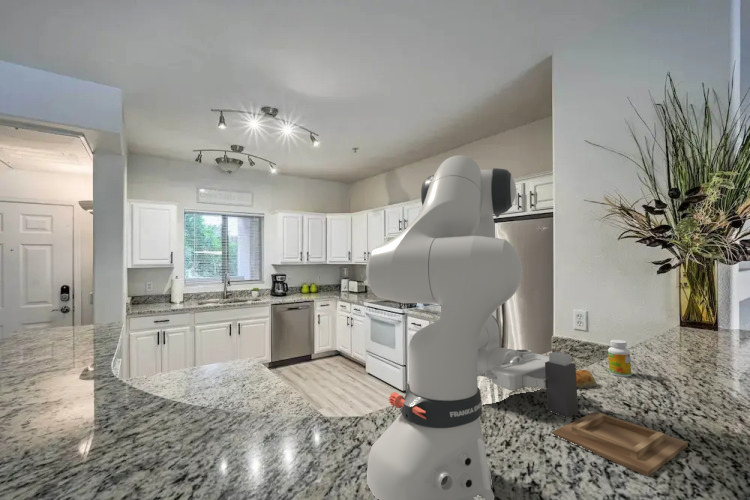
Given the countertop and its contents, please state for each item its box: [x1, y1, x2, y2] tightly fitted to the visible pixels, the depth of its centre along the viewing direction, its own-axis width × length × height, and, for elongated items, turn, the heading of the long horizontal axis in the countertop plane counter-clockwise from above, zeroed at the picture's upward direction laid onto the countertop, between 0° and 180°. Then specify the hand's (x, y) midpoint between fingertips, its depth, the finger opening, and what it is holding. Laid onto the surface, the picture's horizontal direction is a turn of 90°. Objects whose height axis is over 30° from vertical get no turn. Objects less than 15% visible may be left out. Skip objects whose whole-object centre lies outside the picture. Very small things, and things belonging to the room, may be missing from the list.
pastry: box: [576, 369, 597, 389], centre depth 97 cm, size 9×7×4 cm
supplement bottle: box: [607, 339, 632, 378], centre depth 104 cm, size 5×5×10 cm
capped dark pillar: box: [545, 351, 579, 418], centre depth 80 cm, size 4×5×13 cm
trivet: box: [551, 411, 689, 477], centre depth 66 cm, size 16×16×2 cm
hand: (558, 380), depth 80 cm, fingers open, 8 cm apart
